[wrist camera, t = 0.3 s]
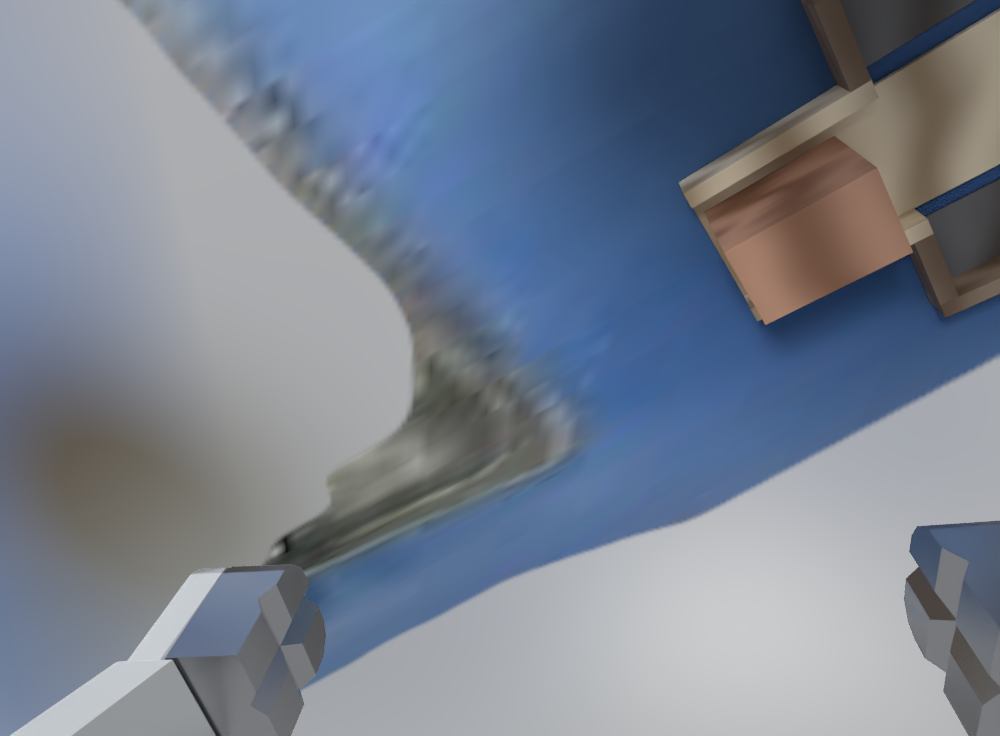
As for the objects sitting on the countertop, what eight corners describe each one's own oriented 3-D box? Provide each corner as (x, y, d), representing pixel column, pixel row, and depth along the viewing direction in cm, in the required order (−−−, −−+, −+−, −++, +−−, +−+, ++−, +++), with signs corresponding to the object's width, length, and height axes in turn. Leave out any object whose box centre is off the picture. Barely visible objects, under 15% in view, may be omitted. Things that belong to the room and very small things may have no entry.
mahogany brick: (741, 277, 47) (765, 324, 41) (704, 212, 45) (723, 252, 39) (868, 210, 44) (913, 252, 38) (834, 135, 41) (877, 167, 36)
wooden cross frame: (786, 368, 52) (794, 385, 50) (628, 97, 42) (631, 105, 40) (1220, 168, 41) (1253, 180, 39) (1147, -263, 31) (1187, -278, 29)
